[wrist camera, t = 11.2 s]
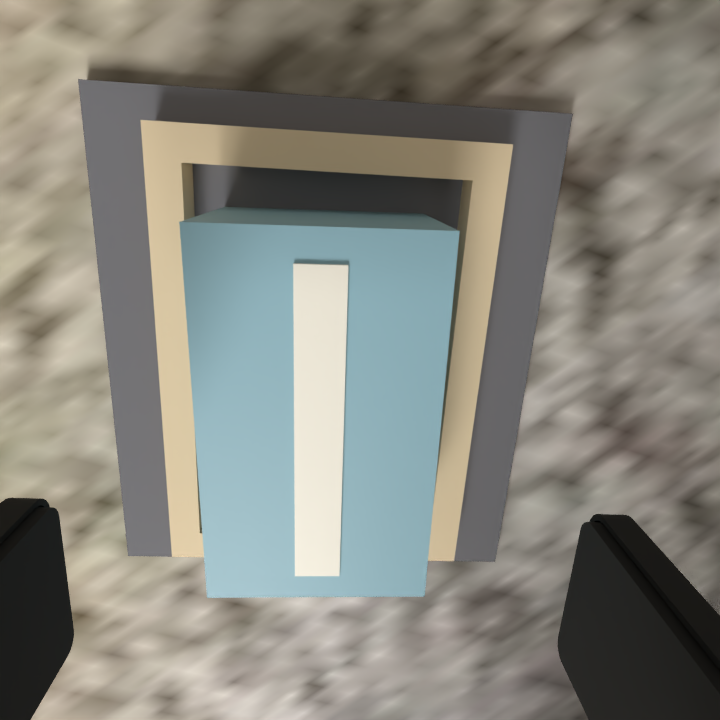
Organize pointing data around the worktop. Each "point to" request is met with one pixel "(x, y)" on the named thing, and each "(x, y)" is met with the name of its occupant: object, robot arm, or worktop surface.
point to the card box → (317, 396)
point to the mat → (316, 192)
